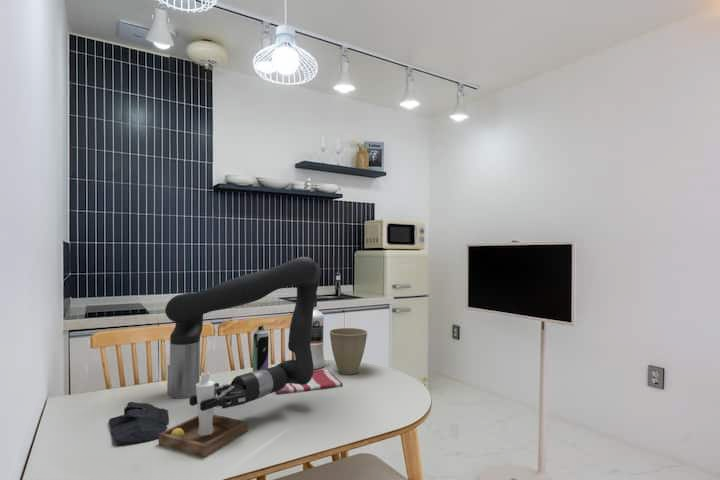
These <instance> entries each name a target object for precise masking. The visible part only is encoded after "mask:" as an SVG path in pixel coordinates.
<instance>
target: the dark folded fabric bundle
mask: <svg viewBox="0 0 720 480" xmlns="http://www.w3.org/2000/svg"><path fill="white" fill-rule="evenodd" d="M123 410H124V411H123V412H124V414H122V415H117V416H115V417H111V418H109V420H108V423H109V428H110V431H111V435H112V437H113V442H114V443H115V444H116V445H117V446H123V445H131V444H132V445H133V444H138V443H143V442H145V443H147V442H153V441H157V440H159V434H160V433H162V432H164V431H166V430H168V426H169V424H170V419H169V412H168V411H169V410H168V409H166V408H160V407H157V406H154V405H153V404H150V403H147V402H146V403H144V402H134V401H131V402H130V401H129V402H127V404H126V407H124V409H123Z"/></svg>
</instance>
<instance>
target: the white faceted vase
mask: <svg viewBox="0 0 720 480" xmlns="http://www.w3.org/2000/svg"><path fill="white" fill-rule="evenodd" d="M210 374H211V373H210V372H209V371H204V372H200V375H201V376H200V378H201V380H200V381H199V383H197V384H196V395H197V404H196V405H197V416H199V430H198V433H199V434H200V435H201V436H203V435H209V434H212V433H213V431H214V428H213V425H212V423H213V414H214V407H213V408H210V409H208V410H205V411H202V410H200V403H201V401H204V400H208V399H211V398H214V386H215V384H216V382H215V381H213V380H211V379H210Z"/></svg>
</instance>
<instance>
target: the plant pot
mask: <svg viewBox="0 0 720 480" xmlns="http://www.w3.org/2000/svg"><path fill="white" fill-rule="evenodd" d="M329 337H330V344H331V351H332V354H333V358H334V361H335V362H334V363H335V365H336V369H337V372H338V373H339V374H342V375H354V374H357V372H358V370H359V369H360V366H361V363H362V359H363V355H364V353H365V350H366V349H365V348H366V344H367V343H366V342H367V337H368V331H367V330H365V329H362V328H356V327H345V328H344V327H343V328H342V327H341V328H333V329H330V330H329Z"/></svg>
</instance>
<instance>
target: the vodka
mask: <svg viewBox="0 0 720 480" xmlns="http://www.w3.org/2000/svg"><path fill="white" fill-rule="evenodd" d="M324 321H325V315H324V313H322V312H321V311H320V310H319V309H318V293H316V297H315V303H314V310H313V320H312V333H311V344H310V348H311V353H312V360H313V367H314V370H320V369H322V368H324V366H325V363H326V362H325V357H324V356H325V355H324V343H325V342H324Z"/></svg>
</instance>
